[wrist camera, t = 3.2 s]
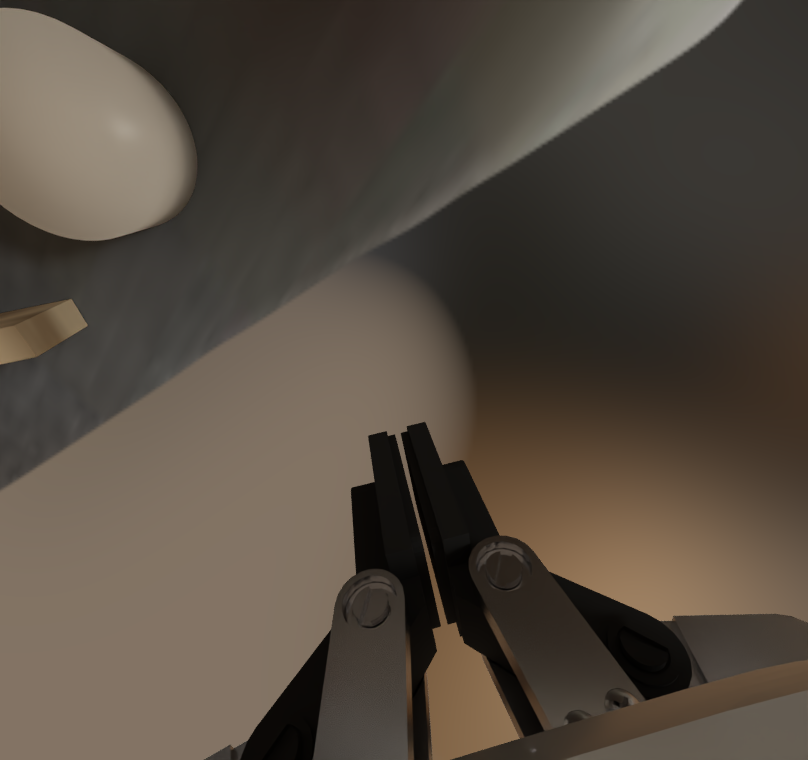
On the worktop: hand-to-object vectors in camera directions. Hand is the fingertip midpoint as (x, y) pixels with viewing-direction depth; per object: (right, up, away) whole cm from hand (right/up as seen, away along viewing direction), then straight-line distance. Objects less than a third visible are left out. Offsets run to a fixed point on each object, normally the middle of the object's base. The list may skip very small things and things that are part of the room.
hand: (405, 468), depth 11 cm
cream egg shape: (-13, +13, +6) cm, 20 cm away
